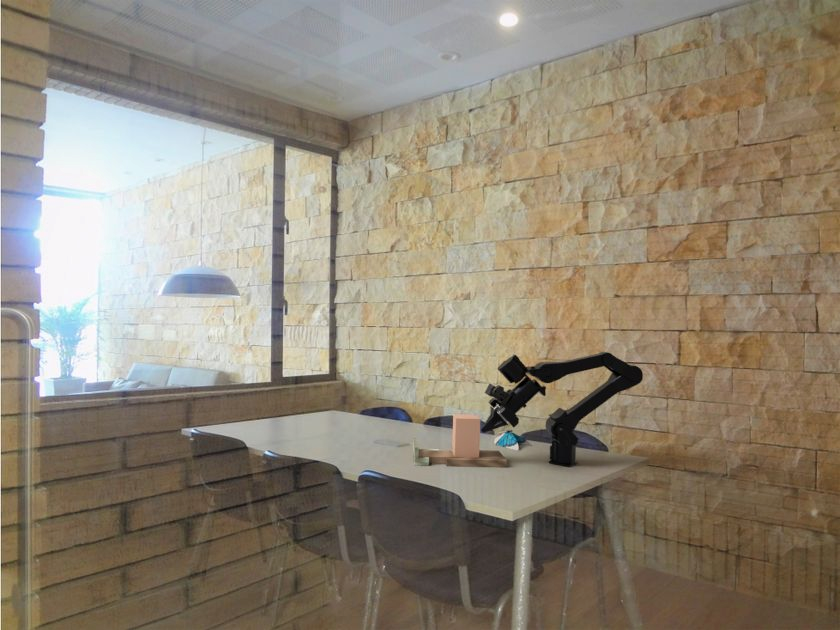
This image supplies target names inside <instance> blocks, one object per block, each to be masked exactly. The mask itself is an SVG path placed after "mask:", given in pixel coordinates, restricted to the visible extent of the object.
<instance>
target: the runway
mask: <svg viewBox="0 0 840 630" xmlns="http://www.w3.org/2000/svg"><path fill="white" fill-rule="evenodd" d="M412 457H413V458H414V459H413V464H414V466H421V465H430V464H429V463H433V464H432V465H445V466H446V467H466V468H467V467H470V468H471V467H472V468H473V467H476V468H477V467H479V468H507V465H508V460H507V459H506V457H505V456H504V455H503V454H502V452H501V451H500V450H490V449H488V450H487V449H486V450H483V449H482V450H481V449H479V457H454V454H453V452H452V450H441V449H440V448H435V449H434V448H419V443H418V438H413V441H412Z"/></svg>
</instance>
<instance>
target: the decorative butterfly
mask: <svg viewBox="0 0 840 630" xmlns="http://www.w3.org/2000/svg"><path fill="white" fill-rule="evenodd" d="M498 433H500V435H498V436H496V437H495V438H494V440H493V441H494V443H493V444H494V445H495V446H499V447H503V448H504V447H505V448H506V449H511V450H514V451H519V447H520V446H519V445H523V446H529V447H531V446H532V443H531V442H530V441H528V440H527V439H526V438H524V437H522V436H520V435H518V434H516V433H514V432H513V430H512V429H510V430H504V431H499V432H498Z"/></svg>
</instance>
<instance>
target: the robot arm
mask: <svg viewBox="0 0 840 630" xmlns="http://www.w3.org/2000/svg"><path fill="white" fill-rule="evenodd" d="M602 367H604V368H606V370H607V371H609V372H611V373H610V376H609V377H608V379H607V381H605V382H603V384H601V385H600V386H598V387H597V388H596V389H594V390H593V391H592V392H590V393H589V394H587V395H586V396H585V397H584V398H582V399H580V400H579V401H578V402H577V403H576V404H574V405H572V407H569V408H568V409H563V408H561V407H558V408H557V409H556V410H555V411H554V412H553V413H551V414H548V418H547V419H546V421H545V429H546V431H547V432H548V434H550V436H551V439H552V441H551V445H550V446H549V460H548V463H549V464H554V465H559V466H564V467H572V466H574V465H575V464H578V463H579V462H578V461H577V460H576V454H577V453H576V450H577V444H578V441H579V438H578V437H577V435H576V434H575V433H574V430H575V429H576V428H577V425H578V424H579V423H580V421H581V420H583V419H585V418H586V417H587V416H588V415H589V414H591V413H592V412H594V411H595V410H596V409H598V408H600V407H601V406H602V405H603V404H604V403H606V402H607V401H608V400H610V399H611V398H613V397H614V396H615V395H617V394H618V393H620V392H623V391H626V390H630V389H632V388H633V387H636V386H637V385H639V384H641V382H642V381H643V380H644V379H643V377H644V373H643V370H642V368H640V367H639V366H636V365H633V364H630V363H628V362H625V361H624V360H622V359H620V358H618V357H616V356H615V355H614V354H612V352H607V351H601V352H599V353H595V354H591V355H585V356H582V357H577V358H573V359H568V360H564V361H540V362H538V363H536V364H534V366H532V365H531V366H526V365H525V364H524V363H523V362H522V361H521V360H520V358H519V356H518V355H517V354H512V356H510V357H509V358H507V359H506V360H503V362H502V363H500V365H499V366H498V367H497V370H498V372H499V373H500V374H501V375H502V376H503V377H504V378H505V379H506V381H508V383H510V384H513V383H514V384H515V386H514V387H513V388H512V389H507V390H506V391H505V388H504V387H503V386H502V385H500V384H499V385H496V386H495V385H494V384H491V383H488V385H487V387H486V389H485V391H484V394H485V395H488V396H489V397H491V399H490V400H489V401H488V404H489V405H490V407H489V409H490V414H489V416H488V417H487V419H486V421H485V422H484V424H483V425H482V426H481V428H480V432H482V433H483V434H484V433H487V432H490V431H493V430H496V429H498V428H502V427H505V426H509V424H510V425H511V427H512V428H515V427H517V425H519V423H520V422H519V421H520V418H519V417H518V416H517V413H518V412H519V411H520V410H521V409H522V408H524V409H525V408H526V407H527V403H529V402H530V401H531V400H532V399H533V398H534V397H535V396H536V395H537V394H538V393H539V394H540V396H541V395H542V396H543V397H546V396H547V393H546V392H547V391H546V390H547V386H545V385H541V383H544V384H552V383H554V382H556V381H558V380H561V379H562V378H564V377H566V376H568V375H572V374H576V373H581V372H585V371H589V370H594V369H598V368H602ZM528 375H530V376H532V377H534V378H533V379H531V378H530V377H529V376H528ZM537 380H538V381H537ZM539 382H541V383H539Z"/></svg>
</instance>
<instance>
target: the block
mask: <svg viewBox="0 0 840 630" xmlns="http://www.w3.org/2000/svg"><path fill="white" fill-rule="evenodd" d="M452 420H453V421H452V445H451V451H452V452H453V454H454V457H479V450H480V441H481V439H480V438H481V418H480V416H479V415H478V414H462V413H453V415H452Z"/></svg>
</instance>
